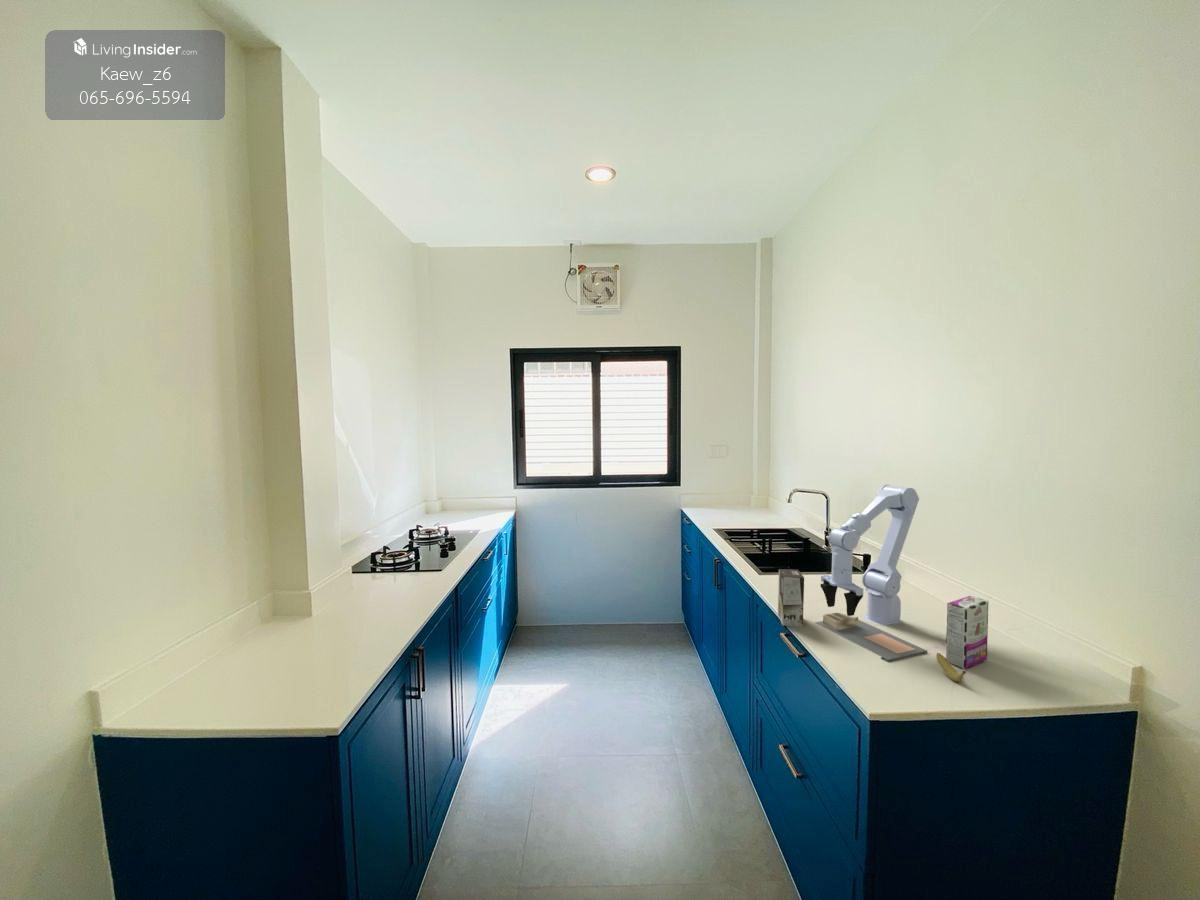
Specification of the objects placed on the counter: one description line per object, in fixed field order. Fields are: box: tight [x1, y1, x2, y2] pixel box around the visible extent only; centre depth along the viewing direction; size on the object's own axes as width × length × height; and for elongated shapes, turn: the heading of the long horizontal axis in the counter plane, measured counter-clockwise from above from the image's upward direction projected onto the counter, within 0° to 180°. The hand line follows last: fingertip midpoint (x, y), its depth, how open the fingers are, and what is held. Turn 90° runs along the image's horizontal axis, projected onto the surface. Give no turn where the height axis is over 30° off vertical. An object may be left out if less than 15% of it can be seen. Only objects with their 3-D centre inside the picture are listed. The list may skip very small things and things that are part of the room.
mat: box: [814, 619, 928, 663], centre depth 146 cm, size 15×26×1 cm, turn 20°
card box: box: [822, 610, 859, 631], centre depth 153 cm, size 9×5×3 cm, turn 110°
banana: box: [935, 652, 967, 683], centre depth 123 cm, size 10×2×4 cm, turn 177°
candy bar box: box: [945, 595, 989, 670], centre depth 131 cm, size 11×5×16 cm, turn 117°
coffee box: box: [777, 568, 805, 628], centre depth 157 cm, size 9×6×16 cm
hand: (840, 610), depth 153 cm, fingers open, 7 cm apart
